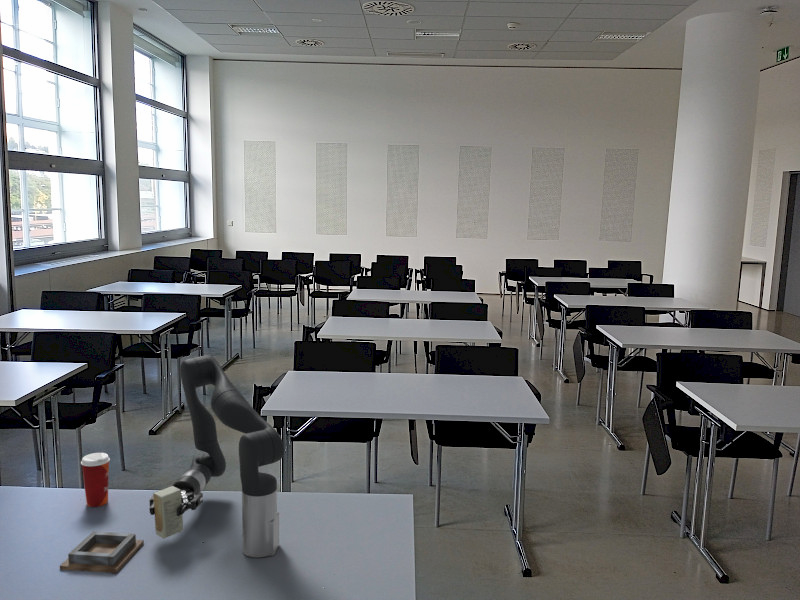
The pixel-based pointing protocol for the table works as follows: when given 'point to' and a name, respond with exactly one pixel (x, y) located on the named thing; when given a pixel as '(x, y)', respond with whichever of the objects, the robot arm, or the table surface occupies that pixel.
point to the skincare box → (167, 512)
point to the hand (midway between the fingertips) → (164, 512)
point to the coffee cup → (96, 478)
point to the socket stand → (102, 552)
